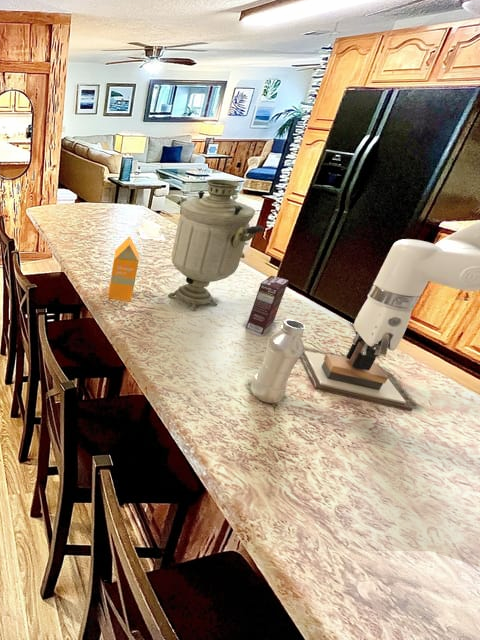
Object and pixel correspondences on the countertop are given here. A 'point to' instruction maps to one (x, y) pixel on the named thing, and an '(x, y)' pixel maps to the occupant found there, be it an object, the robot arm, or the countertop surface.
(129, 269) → the orange juice
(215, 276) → the samovar
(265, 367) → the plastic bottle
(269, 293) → the supplement box
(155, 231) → the napkin holder
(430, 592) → the countertop surface
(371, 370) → the scrub brush
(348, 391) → the tile board
